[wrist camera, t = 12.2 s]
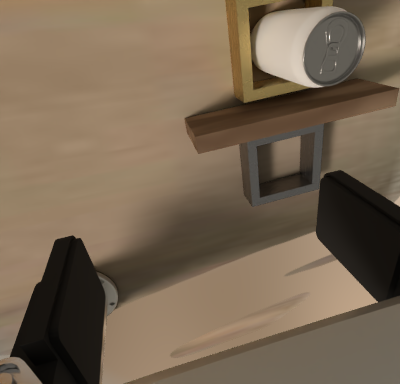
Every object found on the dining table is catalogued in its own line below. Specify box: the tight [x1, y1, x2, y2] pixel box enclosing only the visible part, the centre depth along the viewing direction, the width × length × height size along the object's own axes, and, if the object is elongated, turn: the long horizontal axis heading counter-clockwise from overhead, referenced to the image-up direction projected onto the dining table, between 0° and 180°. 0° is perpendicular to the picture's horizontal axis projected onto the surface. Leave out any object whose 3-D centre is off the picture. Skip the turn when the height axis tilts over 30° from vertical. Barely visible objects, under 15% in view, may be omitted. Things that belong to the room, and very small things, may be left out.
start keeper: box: [239, 123, 324, 207], centre depth 40 cm, size 10×10×4 cm
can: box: [250, 6, 366, 88], centre depth 29 cm, size 6×6×12 cm
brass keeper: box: [226, 0, 333, 103], centre depth 32 cm, size 10×10×4 cm
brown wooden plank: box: [185, 78, 399, 154], centre depth 35 cm, size 2×24×7 cm, turn 100°
